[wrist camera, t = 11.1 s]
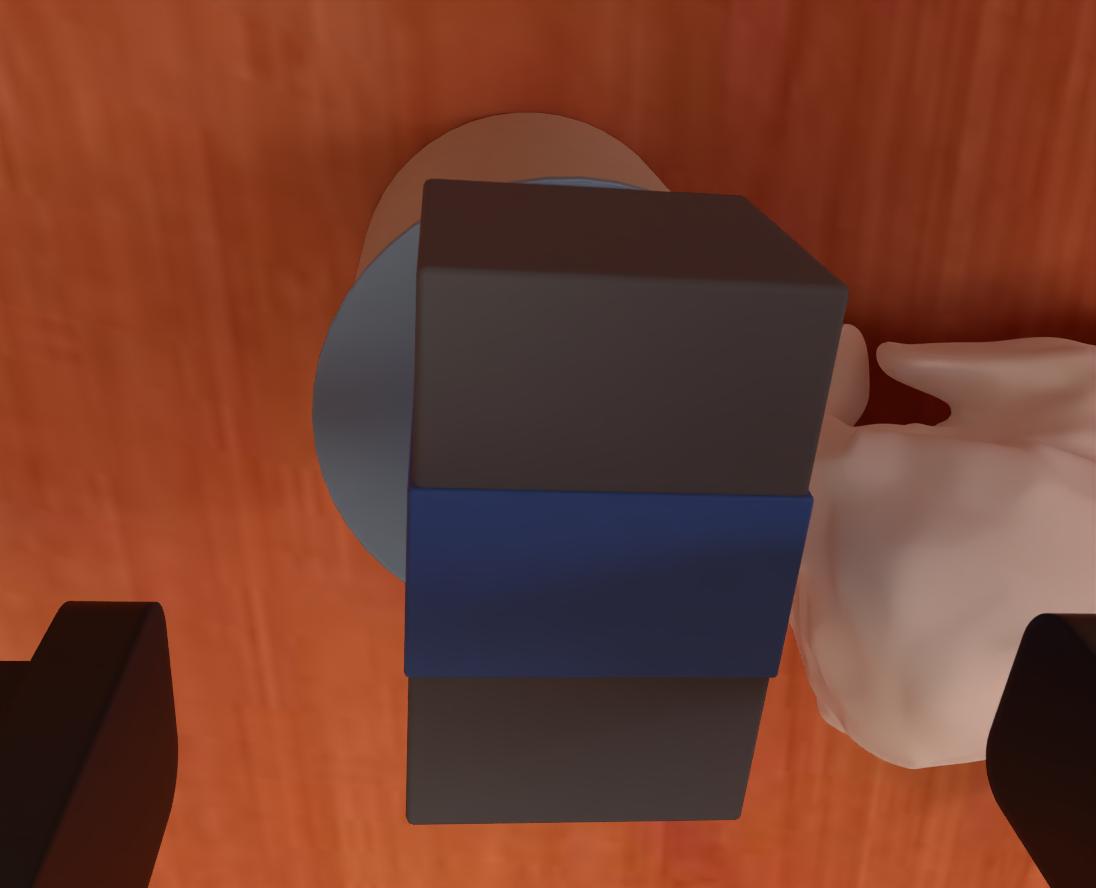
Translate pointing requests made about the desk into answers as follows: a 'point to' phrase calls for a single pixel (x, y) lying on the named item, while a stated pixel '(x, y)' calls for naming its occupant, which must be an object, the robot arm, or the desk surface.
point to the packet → (603, 497)
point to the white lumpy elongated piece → (944, 538)
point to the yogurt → (390, 307)
